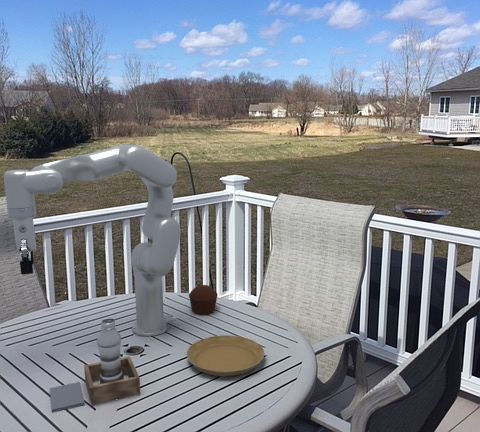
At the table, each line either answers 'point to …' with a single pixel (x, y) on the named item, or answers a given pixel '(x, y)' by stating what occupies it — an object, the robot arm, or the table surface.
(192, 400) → the table surface
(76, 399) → the slate tile
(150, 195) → the robot arm
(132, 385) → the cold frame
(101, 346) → the plastic bottle
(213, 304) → the muffin
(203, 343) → the plant saucer
